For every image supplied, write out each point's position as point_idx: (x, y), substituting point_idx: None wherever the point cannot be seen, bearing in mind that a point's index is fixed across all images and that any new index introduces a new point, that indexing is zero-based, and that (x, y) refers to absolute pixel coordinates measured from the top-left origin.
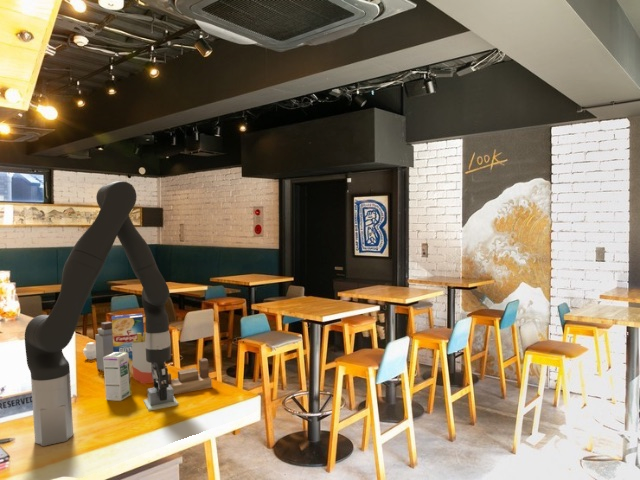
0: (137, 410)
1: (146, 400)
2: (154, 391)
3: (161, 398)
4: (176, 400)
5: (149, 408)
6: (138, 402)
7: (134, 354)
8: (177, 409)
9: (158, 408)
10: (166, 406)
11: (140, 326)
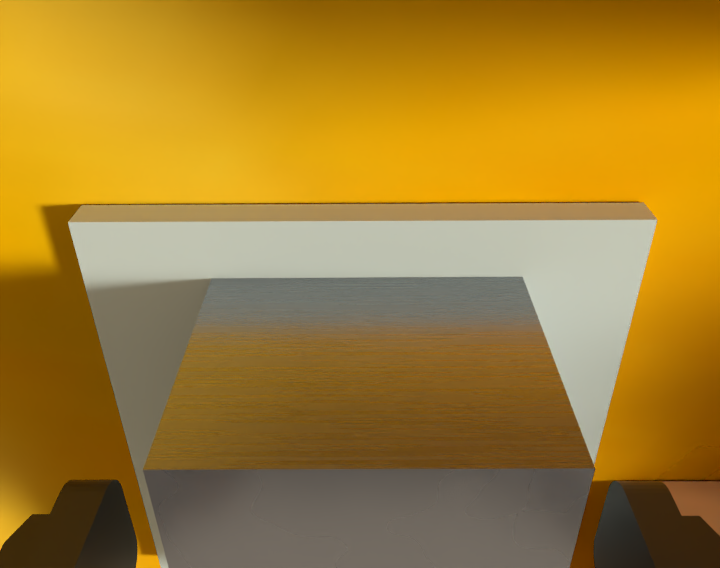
0: (211, 14)
1: (572, 260)
2: (250, 553)
3: (13, 533)
4: None
5: (91, 240)
6: (683, 107)
7: None
8: (8, 522)
9: (115, 353)
10: (136, 452)
11: None
